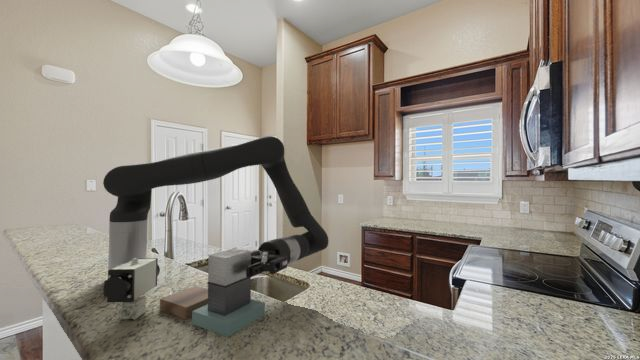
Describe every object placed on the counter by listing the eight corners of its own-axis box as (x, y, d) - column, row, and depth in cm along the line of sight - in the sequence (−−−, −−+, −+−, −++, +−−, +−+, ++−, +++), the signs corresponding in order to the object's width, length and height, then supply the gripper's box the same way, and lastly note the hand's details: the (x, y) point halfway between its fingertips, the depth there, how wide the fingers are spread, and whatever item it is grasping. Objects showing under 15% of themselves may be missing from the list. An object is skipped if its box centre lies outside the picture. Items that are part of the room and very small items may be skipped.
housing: (206, 310, 54) (207, 255, 54) (234, 298, 60) (234, 248, 60) (224, 316, 51) (225, 258, 52) (251, 302, 58) (251, 250, 58)
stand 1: (159, 310, 59) (160, 298, 60) (195, 296, 67) (196, 286, 67) (186, 319, 55) (186, 307, 55) (221, 303, 63) (221, 292, 63)
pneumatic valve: (160, 304, 63) (161, 252, 63) (126, 330, 51) (128, 266, 51) (135, 304, 62) (136, 252, 63) (95, 331, 51) (97, 266, 51)
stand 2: (191, 323, 54) (192, 311, 54) (230, 304, 62) (230, 293, 62) (228, 337, 49) (228, 323, 49) (264, 314, 58) (264, 302, 58)
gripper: (258, 236, 74) (209, 247, 60) (302, 241, 67) (258, 255, 53) (258, 263, 74) (208, 281, 60) (302, 271, 67) (258, 293, 53)
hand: (232, 269), depth 56 cm, fingers open, 8 cm apart
